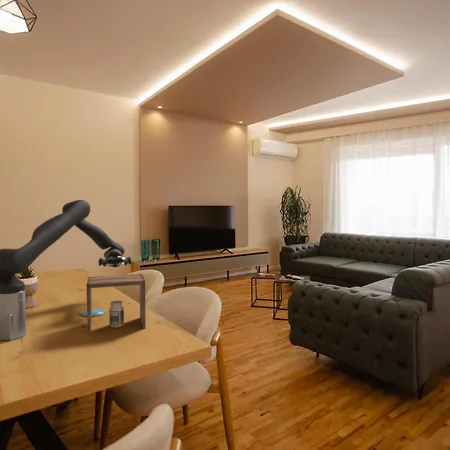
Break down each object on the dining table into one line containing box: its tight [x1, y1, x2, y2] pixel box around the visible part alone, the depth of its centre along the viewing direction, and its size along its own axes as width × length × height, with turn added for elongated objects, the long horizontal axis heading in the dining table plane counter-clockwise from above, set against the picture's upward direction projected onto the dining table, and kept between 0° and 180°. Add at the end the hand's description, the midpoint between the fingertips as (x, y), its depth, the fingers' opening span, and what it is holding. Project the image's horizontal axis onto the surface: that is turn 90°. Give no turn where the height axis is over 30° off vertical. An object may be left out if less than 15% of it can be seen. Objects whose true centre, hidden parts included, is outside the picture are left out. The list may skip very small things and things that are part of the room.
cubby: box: [85, 273, 147, 335], centre depth 145 cm, size 14×22×20 cm, turn 108°
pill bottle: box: [108, 299, 125, 328], centre depth 146 cm, size 6×6×10 cm
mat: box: [79, 307, 107, 318], centre depth 162 cm, size 11×11×1 cm
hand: (115, 263), depth 156 cm, fingers open, 8 cm apart
